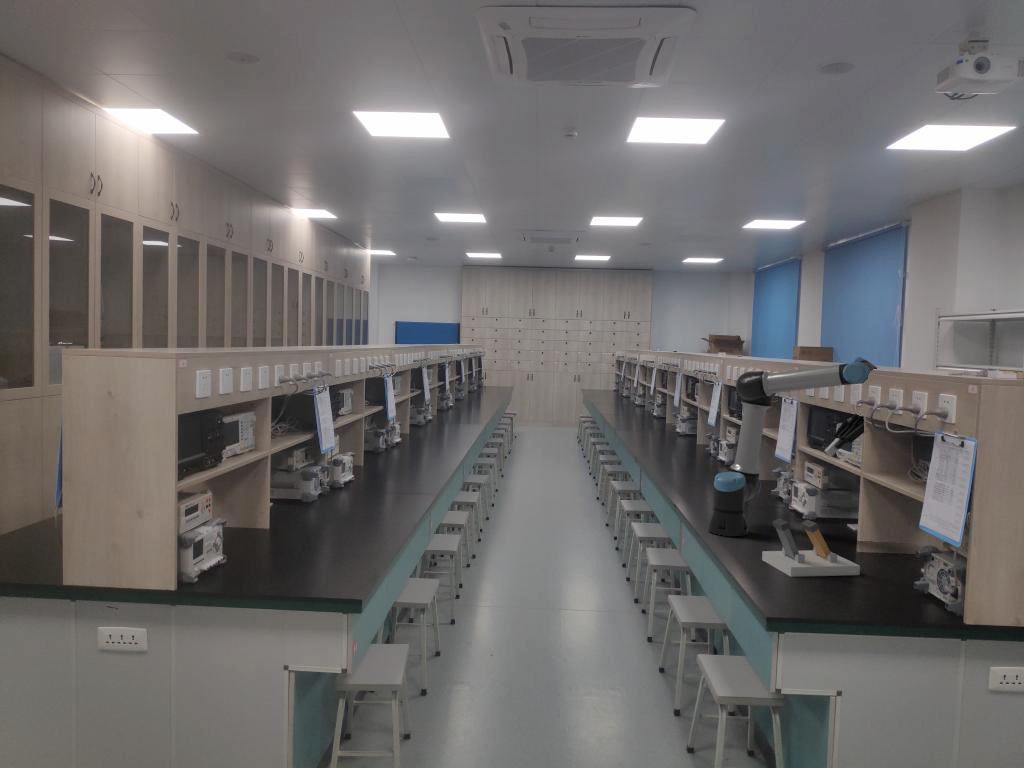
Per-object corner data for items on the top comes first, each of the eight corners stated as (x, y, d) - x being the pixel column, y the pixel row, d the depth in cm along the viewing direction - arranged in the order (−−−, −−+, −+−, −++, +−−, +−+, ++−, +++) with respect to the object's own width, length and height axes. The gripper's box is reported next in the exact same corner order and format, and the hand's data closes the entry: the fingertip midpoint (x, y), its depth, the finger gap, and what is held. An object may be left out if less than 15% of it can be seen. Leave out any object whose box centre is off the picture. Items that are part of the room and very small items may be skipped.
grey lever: (786, 557, 215) (772, 521, 214) (792, 553, 216) (778, 518, 214) (795, 561, 210) (780, 525, 209) (802, 558, 210) (787, 522, 209)
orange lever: (818, 556, 217) (800, 523, 216) (824, 552, 217) (807, 519, 216) (827, 561, 212) (810, 527, 210) (834, 557, 212) (816, 523, 211)
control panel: (762, 559, 220) (762, 544, 220) (826, 558, 224) (827, 543, 224) (790, 576, 204) (791, 559, 203) (859, 574, 207) (860, 558, 207)
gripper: (892, 416, 224) (846, 464, 222) (866, 413, 237) (822, 458, 235) (879, 401, 223) (833, 448, 221) (854, 399, 236) (810, 443, 234)
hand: (827, 453), depth 228 cm, fingers closed
